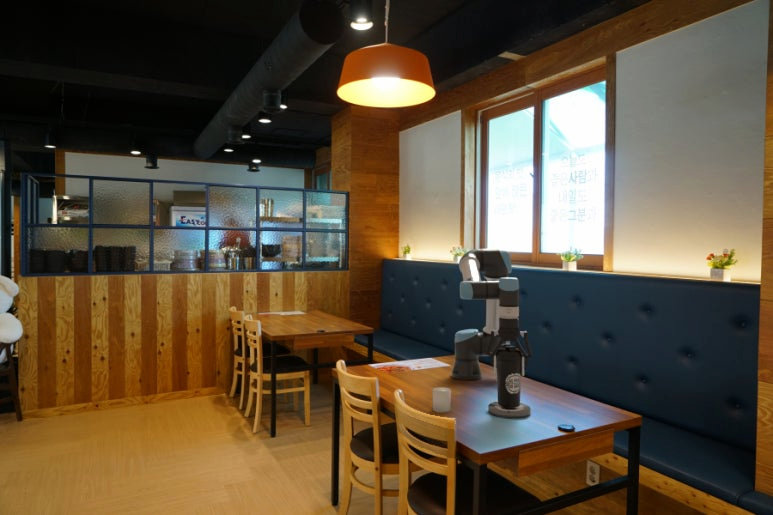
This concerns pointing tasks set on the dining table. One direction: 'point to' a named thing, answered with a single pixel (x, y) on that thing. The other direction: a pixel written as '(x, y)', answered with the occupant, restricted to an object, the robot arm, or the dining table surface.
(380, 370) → the dining table surface
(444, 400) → the white rounded capsule
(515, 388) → the water bottle
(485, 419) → the dining table surface
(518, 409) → the grey plate
